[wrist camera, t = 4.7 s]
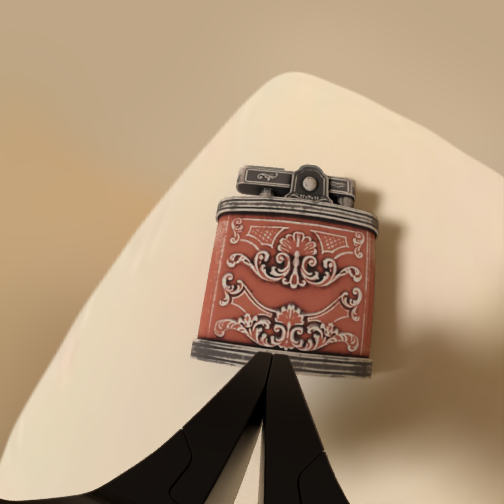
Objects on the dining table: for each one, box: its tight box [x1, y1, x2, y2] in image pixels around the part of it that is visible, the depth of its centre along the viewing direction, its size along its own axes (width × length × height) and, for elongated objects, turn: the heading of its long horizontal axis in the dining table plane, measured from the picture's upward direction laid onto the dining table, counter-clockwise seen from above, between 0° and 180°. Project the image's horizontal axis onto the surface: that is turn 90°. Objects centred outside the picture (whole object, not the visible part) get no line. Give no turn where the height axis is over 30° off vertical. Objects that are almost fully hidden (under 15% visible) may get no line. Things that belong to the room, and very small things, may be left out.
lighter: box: [190, 165, 379, 379], centre depth 15 cm, size 8×3×10 cm
